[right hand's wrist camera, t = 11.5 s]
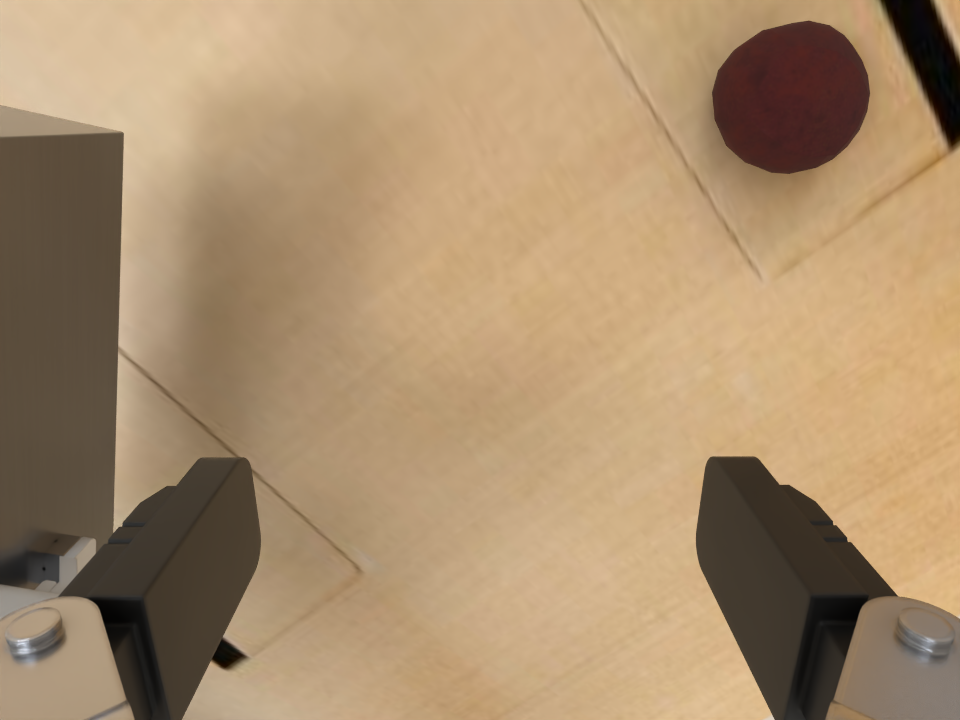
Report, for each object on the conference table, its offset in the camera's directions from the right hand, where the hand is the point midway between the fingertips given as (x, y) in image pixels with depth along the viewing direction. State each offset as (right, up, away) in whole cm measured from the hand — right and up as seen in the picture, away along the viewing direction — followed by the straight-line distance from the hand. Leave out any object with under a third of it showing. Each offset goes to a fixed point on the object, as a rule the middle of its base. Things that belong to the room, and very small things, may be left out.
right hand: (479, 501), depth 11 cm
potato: (+16, +18, +26) cm, 36 cm away
